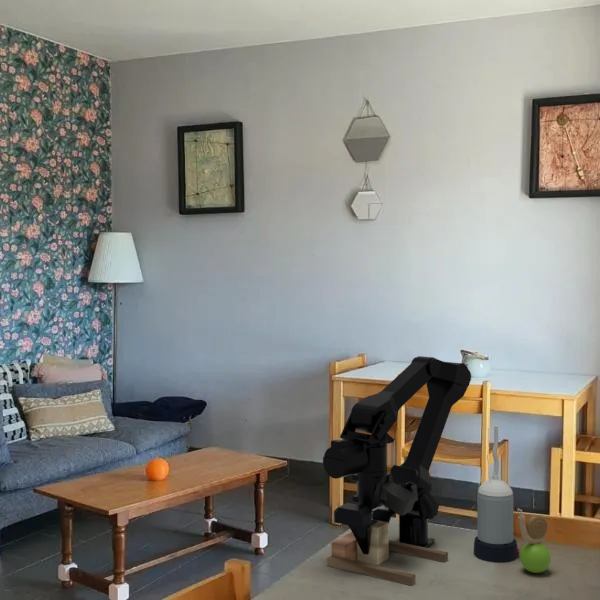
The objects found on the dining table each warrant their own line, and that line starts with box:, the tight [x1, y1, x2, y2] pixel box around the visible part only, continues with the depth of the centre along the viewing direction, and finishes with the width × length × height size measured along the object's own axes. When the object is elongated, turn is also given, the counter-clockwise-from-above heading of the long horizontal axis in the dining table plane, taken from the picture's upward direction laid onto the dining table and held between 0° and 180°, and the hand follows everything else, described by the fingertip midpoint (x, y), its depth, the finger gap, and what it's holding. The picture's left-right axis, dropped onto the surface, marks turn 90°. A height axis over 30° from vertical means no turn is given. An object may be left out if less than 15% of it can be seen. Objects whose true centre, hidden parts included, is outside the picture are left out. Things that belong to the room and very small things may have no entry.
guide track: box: [326, 531, 449, 586], centre depth 152 cm, size 15×18×4 cm
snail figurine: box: [516, 508, 552, 574], centre depth 146 cm, size 5×6×12 cm
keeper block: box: [356, 519, 390, 566], centre depth 153 cm, size 4×4×7 cm
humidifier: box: [473, 425, 520, 564], centre depth 155 cm, size 8×8×25 cm
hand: (372, 550), depth 153 cm, fingers open, 5 cm apart
